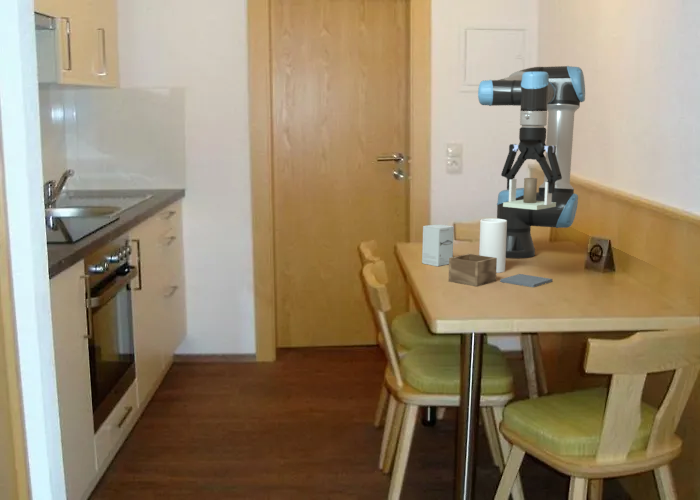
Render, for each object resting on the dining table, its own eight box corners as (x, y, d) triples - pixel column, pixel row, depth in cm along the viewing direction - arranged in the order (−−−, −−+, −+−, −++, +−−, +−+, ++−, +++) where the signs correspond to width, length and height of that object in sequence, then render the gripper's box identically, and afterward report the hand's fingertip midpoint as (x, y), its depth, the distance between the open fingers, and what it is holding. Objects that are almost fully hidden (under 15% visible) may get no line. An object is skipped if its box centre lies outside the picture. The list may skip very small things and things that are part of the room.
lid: (522, 203, 249) (523, 176, 248) (555, 206, 242) (557, 178, 240) (503, 206, 241) (504, 178, 240) (536, 209, 234) (538, 180, 232)
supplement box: (438, 266, 268) (439, 228, 265) (421, 263, 273) (422, 225, 271) (453, 264, 272) (454, 226, 270) (436, 260, 278) (437, 223, 276)
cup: (504, 273, 258) (506, 222, 255) (478, 272, 259) (479, 221, 256) (505, 268, 266) (507, 218, 263) (479, 267, 267) (481, 217, 264)
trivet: (519, 276, 253) (519, 273, 253) (552, 281, 246) (552, 278, 246) (500, 281, 245) (500, 279, 245) (533, 287, 238) (533, 284, 238)
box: (467, 276, 252) (468, 253, 251) (495, 281, 246) (496, 257, 245) (448, 281, 245) (449, 258, 244) (477, 286, 239) (477, 262, 237)
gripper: (490, 126, 243) (488, 200, 246) (564, 127, 227) (560, 207, 231) (504, 125, 248) (501, 198, 252) (576, 127, 233) (572, 205, 236)
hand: (529, 203), depth 241 cm, fingers closed on lid, 11 cm apart
